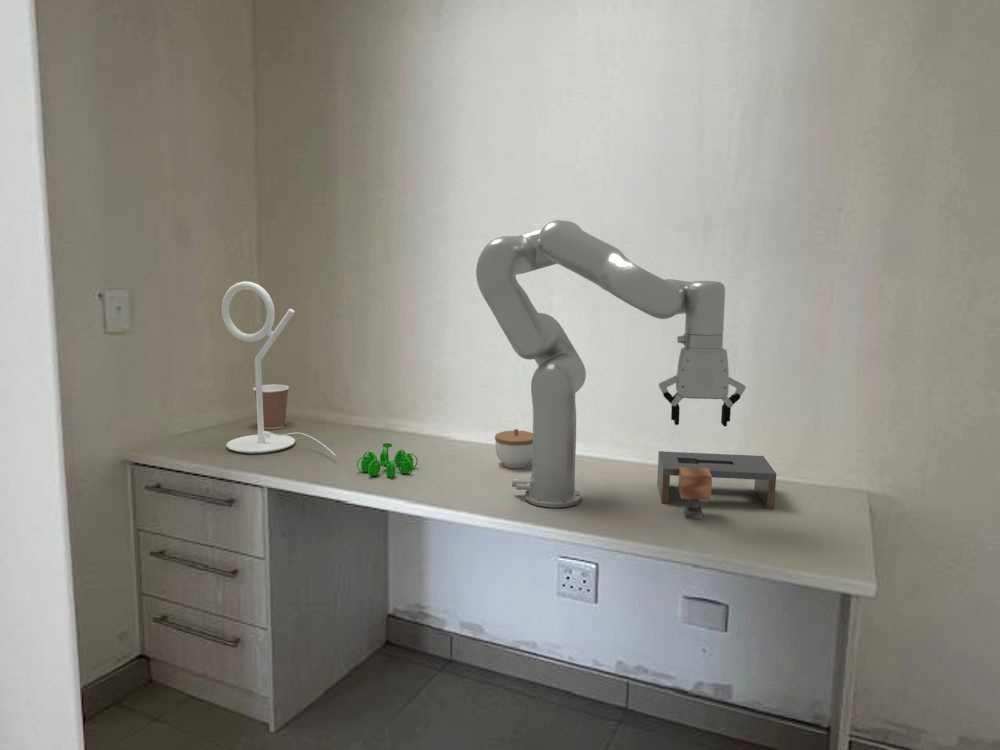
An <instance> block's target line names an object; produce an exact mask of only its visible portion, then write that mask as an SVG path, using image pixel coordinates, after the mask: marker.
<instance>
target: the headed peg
mask: <svg viewBox="0 0 1000 750" xmlns="http://www.w3.org/2000/svg"><path fill="white" fill-rule="evenodd" d="M677 486H678V488H677V489H678V492H679V496H680V499H681V500H683V499H685V500H688V505H684V507H683V514H684V517H685V519H691V520H703V509H702V507H701V506H700V505H699V502H700V500H703V501H711V500H712V487H713V477H712V475H711V473H710V471H709V469H708V468H690V467H679V476H678V485H677Z"/></svg>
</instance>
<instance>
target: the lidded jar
mask: <svg viewBox="0 0 1000 750" xmlns="http://www.w3.org/2000/svg"><path fill="white" fill-rule="evenodd" d="M494 439H495V440H494V441H495V452H496V455H497V457H498V459H499V461H500V463H502V464H503V466H504V467H506V468H509V469H523V468H527V467H528V465H529V464H530V463H531V462H532V457H533V432H530V431H525V430H519V428H514V429H513V430H504V431H499V432H497V433H496V434H495V435H494Z"/></svg>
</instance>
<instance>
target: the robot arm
mask: <svg viewBox="0 0 1000 750" xmlns="http://www.w3.org/2000/svg"><path fill="white" fill-rule="evenodd" d="M554 265H559V266H561V267H563V268H565V269H567V270H569V271H571V272H573V273H574V274H576V275H579V276H580V277H582V278H584V279H586V280H588V281H590V282H591V283H593V284H595V285H597V286H598V287H600V288H601V289H602V290H604V291H606V292H608V293H610V294H611V295H612V296H614V297H616V298H618V299H619V300H621V301H622V302H625V304H628V305H630V306H631V307H633V308H635V309H637V310H639V311H640V312H643V313H645V314H646V315H648V316H651V317H653V318H656V319H661V320H668V319H670V318H673V317H674V316H676V315H681V314H682V315H683V314H685V324H684V325H685V326H684V327H685V328H684V334H683V335H679V336H677V343H678V344H683V345H684V346H683V347H681V349H680V352H679V358H678V363H677V369H676V370H677V371H676V375H674V376H671V377H669V378H668V379H665V380H663V381H661V382H659V383H658V387H659V389H660V391H661V393H662V395H663V398H664V399H666V401H668V402H669V404H670V405H671V414H670V415H671V418H670V419H671V421H674V426H679V425H680V409H681V407H680V404H679V403H680V402H681V401H682V400H683V399H694V400H695V399H697V400H698V399H700V400H701V399H702V400H710V399H711V400H722V401H723V404H722V405H721V418H720V419H721V421H720V422H721V425H722V426H723V427H727V426H728V422H731V411H732V410H731V409H732V407H734V406H733V405H734V404H735V403H737V402H738V401H739V400H740V399H741V397H742V396H743V393H744V392H745V391H746V385H744V384H743V383H741V382H740V381H738V380H737V379H734V378H732V377H730V376H729V375H730V374H729V371H730V370H729V359H728V350H727V349H725V348H723V345H724V326H725V325H724V324H725V323H724V321H725V301H726V299H725V298H726V286H725V285H724V283H722V282H721V281H715V280H696V281H694V280H693V281H684V280H681V279H680V280H679V279H673V278H672V279H671V278H668V279H666V278H665V279H664V278H662V277H659V276H657V275H655V274H653V273H651V272H650V271H648V270H646V269H644V268H642V267H641V266H639V265H637V264H636V263H634V262H632V261H631V260H630V259H629V258H628V257H627V256H626V255H625V254H624V252H622V251H621V250H619V248H617V247H615V246H613V245H612V244H610V243H608V242H606V241H603V240H601V239H599V238H597V237H596V236H594V235H592V234H590V233H588V232H586V231H584V230H583V229H582V228H581V227H580V226H579V225H578V224H576V223H575V222H573V221H569V220H562V219H561V220H560V219H557V220H556V219H555V220H552V221H550V222H547V223H546V224H545V225H543V227H542V228H541V229H539V230H538V229H537V230H535V231H531V232H527V233H524V234H521V235H503V236H498V237H496V238H494V239H492V240H490V241H489V242H488V243H487V244H486V245H485V246H484V247H483V249H482V251H481V252H480V254H479V257H478V259H477V263H476V269H475V270H476V271H475V277H476V282H477V286H478V289H479V291H480V293H481V295H482V297H483V299H484V300H485V302H486V304H487V306H488V307H489V309H490V311H491V313H492V314H493V316H494V318H495V319H496V321H497V322H498V325H499V326H500V328H501V330H502V332H503V333H504V335H505V337H506V339H507V340H508V342H509V344H510V346H511V347H512V349H513V351H514V353H516V355H518V357H520V358H522V359H525V360H534V361H535V362H536V364H537V368H536V369H535V370H534V373H533V374H532V378H531V382H530V383H531V384H530V396H531V403H532V404H531V405H532V433H533V457H532V461H531V462H532V463H531V464H532V465H531V467H532V468H531V469H532V471H531V477H526V479H523V478H522V479H521V478H512V481H511V482H512V483H511V487H512V488H515V489H516V490H518V491H519V490H520V491H521V490H524V491H525V492H524V499H525V500H526V502H528V503H530V504H532V505H534V506H538V507H541V508H542V507H543V508H551V509H552V508H553V509H557V508H560V509H561V508H567V507H568V508H569V507H572V506H574V505H577V504H580V502H581V501H582V493H581V492H580V491H578V490H577V489H575V488H576V487H575V483H576V456H577V455H576V450H577V449H576V448H577V447H576V445H577V407H576V406H577V404H576V393H577V392H579V391H580V390H581V388H583V386H584V384H585V381H586V377H587V371H586V367H585V364H584V362H583V360H582V358H581V357H580V355H579V353H578V351H577V350H576V349H575V347H574V345H573V343H572V341H571V340H570V338H569V337H568V334H566V331H565V330H564V328H563V327H562V325H561V324H560V323H559V322H558V321H557V319H555V318H554V317H553V316H551V315H550V314H547V313H543V312H539V311H538V310H537V309H536V308H535V306H534V305H533V303H532V301H531V298H530V297H529V295H528V294H527V292H526V291H525V290H524V289H523V287H522V286H521V284H519V282H518V279H517V275H522V274H523V275H524V274H527V273H531V272H533V271H536V270H540V269H544V268H547V267H551V266H554ZM672 385H675V390H676V393H675V394H674V395H672V394H671V393H670V392H669V391H668V390H669V389H668V388H669V387H670V386H672ZM729 386H732V387H733V388H735V391H734V393H732V394H731V395H730V396H729V397H728V395H729V388H730V387H729Z"/></svg>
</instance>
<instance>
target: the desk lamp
mask: <svg viewBox="0 0 1000 750" xmlns="http://www.w3.org/2000/svg"><path fill="white" fill-rule="evenodd" d="M243 290H250V291H252V292H255V293H256V294H257V295H259V296H260V298H261V299H262V301H263V303H264V305H265V310H266V318H265V323H264V324H263V326H262V328H261V329H260V330H259V331H256V332H255V333H245V332H243V331H241V330H240V329H239V328H238V327H237V326H236V325H235V324H234V322H233V320H232V318H231V315H230V305H231V302H232V299H233V297H234V296H235V295H236V294H237V293H238V292H240V291H243ZM275 312H276V311H275V305H274V302H273V300H272V298H271V295H270V294H269V293H268V292H267V290H266V289H265V288H264V287H262V286H261V285H260V284H258V283H255V282H252V281H247V280H246V281H245V280H244V281H241V282H236V283H235V284H233V285H232V286H230V287H229V288H228V289H227V291H226V292H225V293H224V296H223V297H222V302H221V317H222V320H223V323H224V325H225V328H226V329H227V330H228V331H229V332H230V334H231V335H232V336H234V337H235V338H236V339H238V340H240V341H244V342H248V343H249V342H250V343H252V342H258V341H260V340H261V339H263V338H265V337H266V336H267V337H268V339H267V340H266V342H264V344H263V346H262V347H261V348H260V350H259V351H258V353H257V354H256V356H255V358H254V374H255V378H254V379H255V387H256V398H255V403H256V416H257V417H256V421H257V424H256V425H257V434H252V435H244V436H240V437H237V438H233V439H232V440H229V441H228V442H227V443H226V445H225V446H226V448H227V449H228V450H230V451H234V452H237V453H242V454H251V455H252V454H266V453H267V454H268V453H274V452H275V453H276V452H278V451H282V450H285V449H287V448H289V447H291V446H293V445H295V443H296V439H295V438H293V436H289V435H296V434H297V435H298V434H299V435H302V436H303V435H304V436H306V437H308V438H311V439H313V440H314V441H316V442H317V443H319V444H320V445H321V446H323V447H324V448H325V449H327V450H328V451H329V453H331V454H332V455H333V456H334V457H335V458H336V457H337V455H336V454H335V453H334V452H333V451H332V450H331V449H330V448H329V447H327V445H325V444H323V443H322V442H321V441H319V440H318V439H316V438H315V437H312V436H311V435H308V434H305V433H303V432H297V431H296V432H290V433H285V434H276V433H273V432H271V431H268V430H267V431H266V430H265V429H264V420H263V396H262V385H263V380H262V379H263V376H262V375H263V374H262V360H263V358H264V357H265V355H266V353H267V352H268V351H269V349H270V348H271V347H272V345H274V342H275V341H276V340H277V338H278V337H279V336H280V334H281V333H282V331H283V330H284V328H285V327H286V326H287V324H288V323H289V322H290V320H291V318H292V317H293V315H294V314H295V313H296V312H295V310H294V309H292V308H289V309H288V310H287V311H286V313H285V314H284V315H283V317H282V319H281V320H280V321H279V323H278V325H277V326H276V327H275V328H274V330H272V328H273V326H274V322H275V319H276V317H275V316H276V313H275Z"/></svg>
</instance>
